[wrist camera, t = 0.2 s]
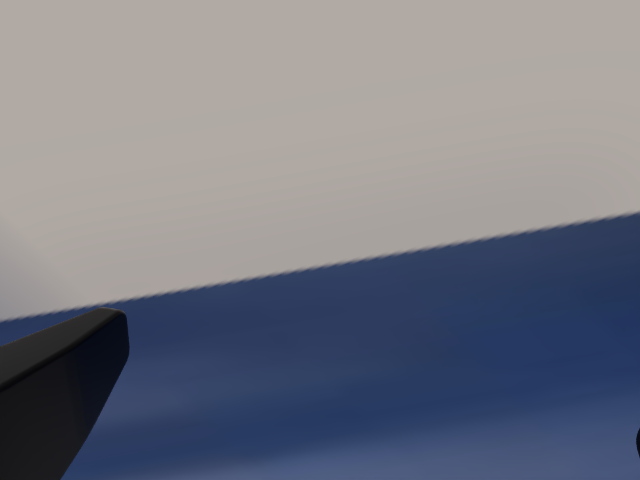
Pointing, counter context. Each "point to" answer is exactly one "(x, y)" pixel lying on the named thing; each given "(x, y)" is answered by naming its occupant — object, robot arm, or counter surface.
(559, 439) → the counter surface
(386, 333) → the counter surface
